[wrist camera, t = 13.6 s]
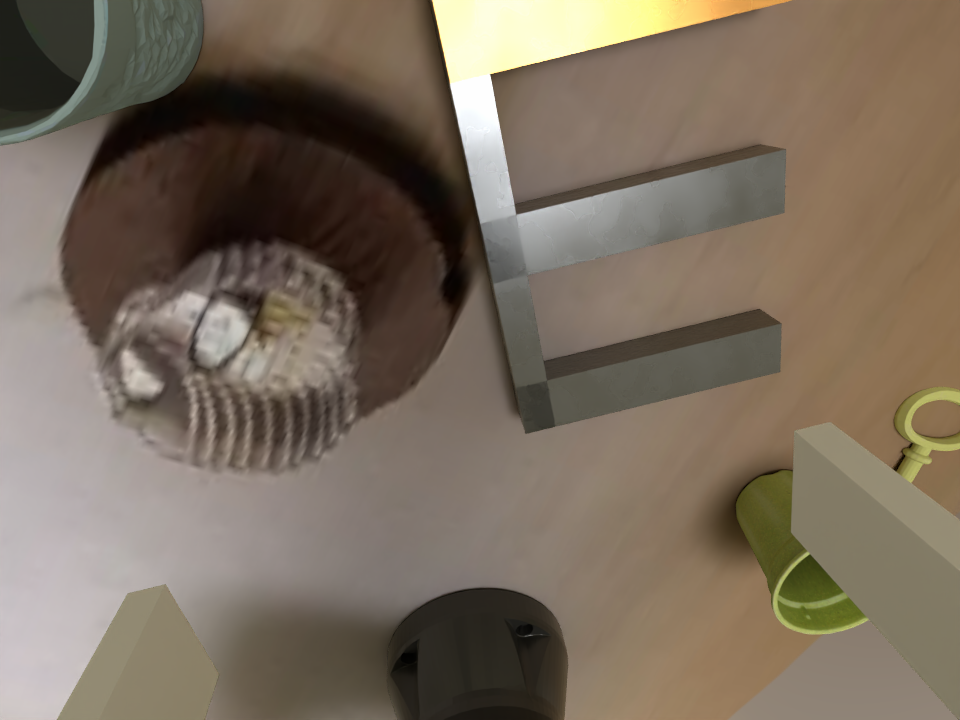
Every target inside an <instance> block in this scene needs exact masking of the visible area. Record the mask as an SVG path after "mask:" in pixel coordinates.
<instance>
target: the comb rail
mask: <svg viewBox="0 0 960 720" xmlns="http://www.w3.org/2000/svg"><path fill="white" fill-rule="evenodd" d="M788 1H792V0H429V3H430V7H431V12H432V17H433V21H434V26H435V30H436V35H437V39H438V44H439V49H440V53H441V58H442V62H443V67H444V72H445V76H446V81H447V85H448V90H449V94H450V99H451V104H452V108H453V113H454V117H455V122H456V126H457V131H458V136H459V140H460V145H461V149H462V154H463V159H464V163H465V168H466V172H467V177H468V181H469V186H470V191H471V195H472V200H473V204H474V209H475V214H476V218H477V223H478V227H479V232H480V236H481V241H482V246H483V250H484V255H485V259H486V264H487V268H488V273H489V278H490V282H491V287H492V291H493V296H494V301H495V305H496V310H497V314H498V319H499V323H500V328H501V333H502V337H503V342H504V346H505V351H506V356H507V360H508V365H509V369H510V374H511V378H512V383H513V388H514V392H515V397H516V401H517V406H518V410H519V415H520V418H521V421H522V424H523V427H524V430H525V433H526V434H527V433H531V432H535V431H539V430H543V429H547V428H552V427H556V426H560V425H564V424H568V423H572V422H576V421H580V420H584V419H589V418H593V417H597V416H601V415H605V414H609V413H613V412H617V411H621V410H625V409H630V408H634V407H638V406H642V405H646V404H650V403H654V402H658V401H662V400H667V399H671V398H675V397H679V396H683V395H687V394H691V393H695V392H699V391H704V390H708V389H712V388H716V387H720V386H724V385H728V384H732V383H736V382H741V381H745V380H749V379H753V378H757V377H761V376H765V375H769V374H773V373H778V372H780V360H781V323H780V322H778V321H777V320H775V319H774V318H772V317H771V316H769V315H768V314H766V313H765V312H763V311H762V310H760V309H758V310H754V311H750V312H746V313H742V314H738V315H734V316H729V317H725V318H721V319H717V320H713V321H709V322H705V323H701V324H697V325H692V326H688V327H684V328H680V329H676V330H672V331H668V332H664V333H660V334H655V335H651V336H647V337H643V338H639V339H635V340H631V341H627V342H623V343H618V344H614V345H610V346H606V347H602V348H598V349H594V350H590V351H586V352H581V353H577V354H573V355H569V356H565V357H561V358H557V359H553V360H549V361H543V356H542V351H541V345H540V340H539V335H538V329H537V324H536V319H535V313H534V308H533V302H532V297H531V292H530V286H529V281H528V276H527V275H531V274H535V273H539V272H543V271H548V270H552V269H556V268H560V267H564V266H568V265H572V264H576V263H581V262H585V261H589V260H593V259H597V258H601V257H605V256H609V255H613V254H618V253H622V252H626V251H630V250H634V249H638V248H642V247H646V246H650V245H655V244H659V243H663V242H667V241H671V240H675V239H679V238H683V237H687V236H692V235H696V234H700V233H704V232H708V231H712V230H716V229H720V228H724V227H729V226H733V225H737V224H741V223H745V222H749V221H753V220H757V219H761V218H766V217H770V216H774V215H778V214H782V213H784V206H785V168H786V149H782V148H777V147H771V146H766V145H757V146H753V147H749V148H744V149H740V150H736V151H732V152H728V153H724V154H720V155H716V156H712V157H707V158H703V159H699V160H695V161H691V162H687V163H683V164H679V165H675V166H670V167H666V168H662V169H658V170H654V171H650V172H646V173H642V174H637V175H633V176H629V177H625V178H621V179H617V180H613V181H609V182H605V183H600V184H596V185H592V186H588V187H584V188H580V189H576V190H572V191H568V192H563V193H559V194H555V195H551V196H547V197H543V198H539V199H535V200H531V201H526V202H522V203H518V204H514V200H513V195H512V190H511V184H510V179H509V174H508V168H507V163H506V158H505V152H504V147H503V141H502V136H501V131H500V125H499V120H498V115H497V109H496V104H495V99H494V93H493V88H492V82H491V77H490V74H491V73H495V72H499V71H504V70H508V69H512V68H516V67H520V66H524V65H528V64H532V63H536V62H541V61H545V60H549V59H553V58H557V57H561V56H565V55H569V54H574V53H578V52H582V51H586V50H590V49H594V48H598V47H602V46H606V45H611V44H615V43H619V42H623V41H627V40H631V39H635V38H639V37H643V36H648V35H652V34H656V33H660V32H664V31H668V30H672V29H676V28H681V27H685V26H689V25H693V24H697V23H701V22H705V21H709V20H713V19H718V18H722V17H726V16H730V15H734V14H738V13H742V12H746V11H750V10H755V9H759V8H763V7H767V6H771V5H775V4H779V3H783V2H788Z"/></svg>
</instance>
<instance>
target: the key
mask: <svg viewBox="0 0 960 720" xmlns="http://www.w3.org/2000/svg"><path fill="white" fill-rule="evenodd" d="M934 400H947V401H950V402H953V403H956V404H957V405H959V406H960V390H958V389H954V388H948V387H934V388H929V389H925V390H922V391H919V392H917V393H915V394H913V395H912V396H910V397H908V398H907V399H906V400H905V401H904V402H903V403H902V404H901V405H900V407H899V408H898V410H897V412H896V414H895V417H894V424H895V428H896V429H897V431H898V432H899V433H900V434H901V435H902V436H903V437H904V438H905V439H907V440H908V441H910V442H912V443H913V444H912V446H911V448H905V449H903V451H902V452H903V454H904V455H906V456H905V458H904V459H903V461H902V463H901V464H900V466H899V468H898V469H897V471H896V472H897V473H898V474H900V475H901V476H902V477H903V478H905V479H906V480H907V481H909V482H910V483H912V481H913V479H914V478H915V476H916V474H917V473H918V471H919V469H920V468H921V466H922V465H923V464H930V463H931V462H932V459H931V458H930V457H929V456H928V455H929V453H930V451H931V450H932V449H933V450H940V451H951V450H956V449H960V432H959V433H957V434H955V435H953V436H949V437H944V438H931V437H925V436H921V435H919V434H917V433H915V432H914V430H913V429H912V427H911V420H912V417H913V414H914V412H915V411H916V410H917V409H918V408H919V407H920V406H921V405H923V404H924V403H927V402H930V401H934Z"/></svg>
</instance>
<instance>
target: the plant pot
mask: <svg viewBox="0 0 960 720" xmlns="http://www.w3.org/2000/svg"><path fill="white" fill-rule="evenodd" d="M792 486H793V471H788V470H781V471H779V472H778V473H775V474H772V475H764V476H760V477H758V478H757V479H755V480H754V481H752V482H751V483H750V484H749V485H748V486H746V488H745V489H744V490H743V491H742V492H741V494H740V496H739V497H738V500H737V502H736V514H737V520H738V522H739V524H740V526H741V528H742V530H743V532H744V534H745V536H746V538H747V540H748V542H749V544H750V546H751V548H752V550H753V552H754V554H755V556H756V558H757V560H758V562H759V564H760V566H761V568H762V570H763V572H764V574H765V576H766V578H767V583H768V588H769V591H770V593H771V605H772V609H773V611H774V613H775V615H776V617H777V619H778V620H779V621H780V622H781V623H782V624H783V625H784V626H786V627H788V628H790V629H792V630H794V631H797V632H800V633H805V634H828V633H834V632H838V631H843V630H846V629H850V628H853V627H855V626H857V625H860V624H862V623H864V622H866V621H868V620H869V619H868V618H867V617H866V616H865V615H864V614H863V613H862V611H861V610H860V609H859V608H858V607H857V606H856V605H855V604H854V602H853V601H852V600H851V599H850V598H849V597H848V596H847V595H846V594H845V592H844V591H843V590H842V589H841V588H840V587H839V586H838V585H837V583H836V582H835V581H834V580H833V579H832V578H831V577H830V576H829V575H828V573H827V572H826V571H825V570H824V569H823V568H822V567H821V566H820V564H819V563H818V562H817V561H816V560H815V559H814V558H813V557H812V556H811V554H810V553H809V552H808V551H807V550H806V549H805V548H804V547H803V545H802V544H801V543H800V542H799V541H798V540H797V539H796V538H795V536H794V535H793V534H792V533H791V514H792Z"/></svg>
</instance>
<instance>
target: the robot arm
mask: <svg viewBox="0 0 960 720" xmlns="http://www.w3.org/2000/svg"><path fill="white" fill-rule="evenodd" d="M791 533H792V534H793V535H794V536H795V538H796V539H797V540H798V541H799V542H800V543H801V544H802V545H803V547H804V548H805V549H806V550H807V551H808V552H809V553H810V554H811V556H812V557H813V558H814V559H815V560H816V561H817V562H818V563H819V564H820V566H821V567H822V568H823V569H824V570H825V571H826V572H827V573H828V575H829V576H830V577H831V578H832V579H833V580H834V581H835V582H836V583H837V585H838V586H839V587H840V588H841V589H842V590H843V591H844V592H845V594H846V595H847V596H848V597H849V598H850V599H851V600H852V601H853V602H854V604H855V605H856V606H857V607H858V608H859V609H860V610H861V611H862V613H863V614H864V615H865V616H866V617H867V618H868V619H869V620H870V622H872V624H873V625H874V626H875V627H876V628H877V629H878V630H879V632H880V633H881V634H882V635H883V636H884V637H885V638H886V639H887V641H888V642H889V643H890V644H891V645H892V646H893V647H894V648H895V649H896V651H897V652H898V653H899V654H900V655H901V656H902V657H903V658H904V660H905V661H906V662H907V663H908V664H909V665H910V666H911V667H912V668H913V670H914V671H915V672H916V673H917V674H918V675H919V676H920V677H921V678H922V680H923V681H924V682H925V683H926V684H927V685H928V686H929V688H931V690H932V691H933V692H934V693H935V694H936V695H937V696H938V698H939V699H940V700H941V701H942V702H943V703H944V704H945V705H946V707H947V708H948V709H949V710H950V711H951V712H952V713H953V714H954V715H955V716H956V718H957V719H958V720H960V520H959V519H957V518H956V517H955V516H954V515H952V514H951V513H950V512H948V511H947V510H946V509H945V508H943V507H942V506H941V505H939V504H938V503H937V502H935V501H934V500H933V499H931V498H930V497H929V496H927V495H926V494H925V493H923V492H922V491H921V490H919V489H918V488H917V487H915V486H914V485H913V484H911V483H910V482H909V481H907V480H906V479H905V478H903V477H902V476H901V475H900V474H898V473H897V472H896V471H894V470H893V469H892V468H890V467H889V466H888V465H886V464H885V463H884V462H882V461H881V460H880V459H878V458H877V457H876V456H874V455H873V454H872V453H870V452H869V451H868V450H866V449H865V448H864V447H862V446H861V445H860V444H859V443H857V442H856V441H855V440H853V439H852V438H851V437H849V436H848V435H847V434H845V433H844V432H843V431H841V430H840V429H839V428H837V427H836V426H835V425H833V424H832V423H831V422H828V423H824V424H820V425H816V426H812V427H808V428H804V429H800V430H796V431H794V457H793V486H792V514H791ZM567 673H568V656H567V650H566V646H565V643H564V639H563V635H562V632H561V628H560V626H559V623H558V622H557V620H556V618H555V617H554V616H553V614H552V613H551V612H550V611H549V610H548V609H547V608H546V607H544V606H543V605H542V604H540V603H539V602H537V601H535V600H533V599H531V598H529V597H527V596H524V595H521V594H518V593H514V592H510V591H504V590H493V589H481V590H470V591H463V592H459V593H454V594H451V595H447V596H444V597H442V598H439V599H437V600H434V601H432V602H430V603H428V604H426V605H425V606H423V607H421V608H420V609H418V610H417V611H415V612H414V613H413V614H411V615H410V616H409V617H408V618H407V619H406V620H405V621H404V622H403V623H402V624H401V625H400V626H399V628H398V629H397V631H396V632H395V634H394V635H393V637H392V639H391V642H390V645H389V649H388V656H387V686H388V691H389V695H390V698H391V701H392V705H393V708H394V711H395V714H396V717H397V720H564V716H565V702H566V688H567ZM218 677H219V673H218V671H217V670H216V668H215V666H214V665H213V663H212V661H211V660H210V658H209V656H208V655H207V653H206V651H205V650H204V648H203V646H202V645H201V643H200V641H199V640H198V638H197V636H196V635H195V633H194V631H193V630H192V628H191V626H190V624H189V623H188V621H187V619H186V618H185V616H184V614H183V613H182V611H181V609H180V608H179V606H178V604H177V603H176V601H175V599H174V598H173V596H172V594H171V593H170V591H169V589H168V588H167V586H166V584H165V585H161V586H157V587H153V588H149V589H144V590H140V591H136V592H132V593H128V594H127V596H126V598H125V599H124V601H123V603H122V605H121V607H120V608H119V610H118V612H117V614H116V615H115V617H114V619H113V621H112V623H111V624H110V626H109V628H108V630H107V631H106V633H105V635H104V637H103V639H102V640H101V642H100V644H99V646H98V648H97V649H96V651H95V653H94V655H93V656H92V658H91V660H90V662H89V664H88V665H87V667H86V669H85V671H84V672H83V674H82V676H81V678H80V680H79V681H78V683H77V685H76V687H75V688H74V690H73V692H72V694H71V696H70V697H69V699H68V701H67V703H66V704H65V706H64V708H63V710H62V712H61V713H60V715H59V717H58V719H57V720H205V717H206V714H207V711H208V708H209V705H210V702H211V699H212V695H213V692H214V689H215V686H216V683H217V680H218Z"/></svg>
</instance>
